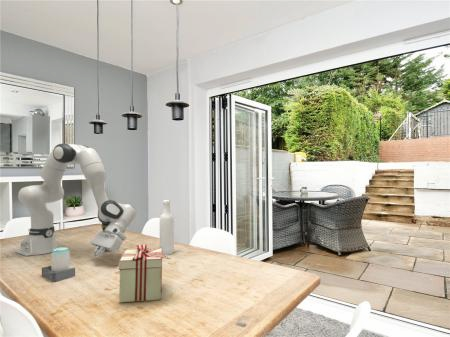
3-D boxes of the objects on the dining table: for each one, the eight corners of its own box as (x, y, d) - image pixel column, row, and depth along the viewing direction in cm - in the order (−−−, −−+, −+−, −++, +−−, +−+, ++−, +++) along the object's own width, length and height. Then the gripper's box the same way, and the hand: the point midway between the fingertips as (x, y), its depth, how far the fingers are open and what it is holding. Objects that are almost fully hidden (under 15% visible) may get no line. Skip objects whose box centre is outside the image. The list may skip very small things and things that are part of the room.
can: (67, 277, 123) (67, 250, 123) (49, 279, 121) (49, 251, 121) (71, 272, 129) (71, 246, 130) (54, 273, 128) (54, 247, 128)
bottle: (170, 255, 154) (170, 201, 154) (157, 254, 155) (157, 200, 156) (175, 251, 162) (175, 199, 162) (163, 250, 163) (163, 199, 163)
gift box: (172, 298, 102) (172, 251, 102) (118, 305, 97) (118, 255, 97) (168, 281, 118) (168, 240, 119) (121, 286, 113) (121, 243, 113)
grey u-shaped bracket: (63, 270, 132) (63, 262, 132) (75, 275, 125) (75, 268, 125) (41, 275, 125) (41, 267, 125) (53, 282, 117) (53, 274, 117)
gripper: (99, 226, 151) (80, 248, 143) (120, 231, 138) (101, 255, 130) (107, 233, 154) (89, 255, 146) (128, 238, 141) (110, 262, 134)
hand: (95, 255), depth 138 cm, fingers closed
